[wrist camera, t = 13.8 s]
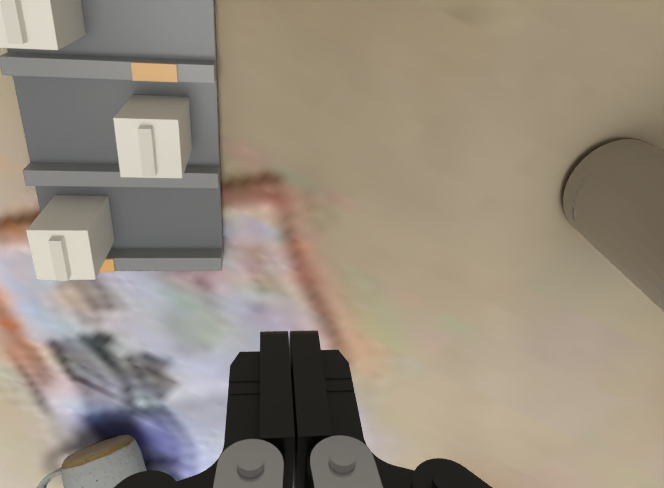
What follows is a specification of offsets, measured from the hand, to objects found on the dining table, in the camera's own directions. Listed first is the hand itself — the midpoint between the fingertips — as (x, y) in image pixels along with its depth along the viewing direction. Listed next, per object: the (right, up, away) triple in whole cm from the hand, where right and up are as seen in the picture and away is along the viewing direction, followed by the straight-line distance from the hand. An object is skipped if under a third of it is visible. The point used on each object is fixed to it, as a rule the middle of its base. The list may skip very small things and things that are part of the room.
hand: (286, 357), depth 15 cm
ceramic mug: (-23, -19, +44) cm, 53 cm away
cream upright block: (-18, +19, +23) cm, 34 cm away
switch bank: (-15, +13, +28) cm, 34 cm away
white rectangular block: (-19, +5, +30) cm, 36 cm away
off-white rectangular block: (-11, +12, +27) cm, 32 cm away
